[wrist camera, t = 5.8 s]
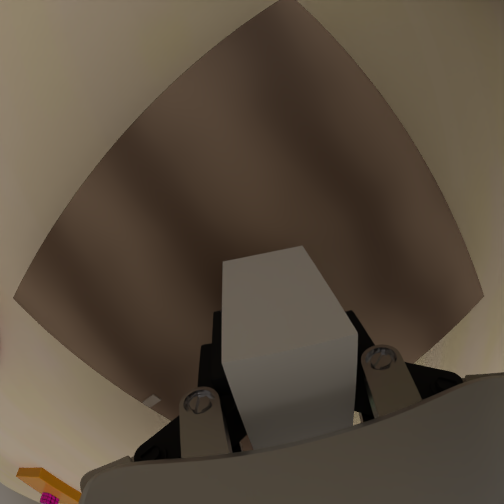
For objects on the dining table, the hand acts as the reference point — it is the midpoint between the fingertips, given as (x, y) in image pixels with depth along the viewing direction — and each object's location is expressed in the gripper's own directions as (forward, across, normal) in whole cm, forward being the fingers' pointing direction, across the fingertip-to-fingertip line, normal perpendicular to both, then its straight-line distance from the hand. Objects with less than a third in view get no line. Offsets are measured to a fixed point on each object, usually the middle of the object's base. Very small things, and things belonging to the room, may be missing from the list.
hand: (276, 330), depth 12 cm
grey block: (+1, 0, +3) cm, 3 cm away
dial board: (+4, 0, 0) cm, 4 cm away
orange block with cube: (+4, +35, +25) cm, 44 cm away
